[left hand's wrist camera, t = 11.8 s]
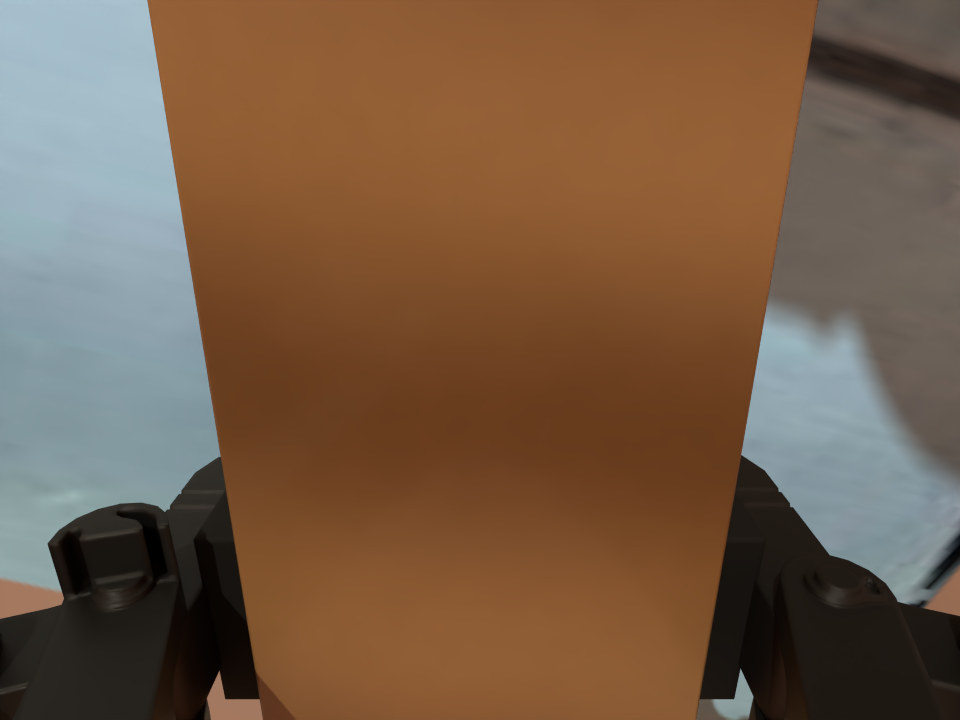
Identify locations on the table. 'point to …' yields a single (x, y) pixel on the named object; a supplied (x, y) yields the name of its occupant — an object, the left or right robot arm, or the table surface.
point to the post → (481, 334)
